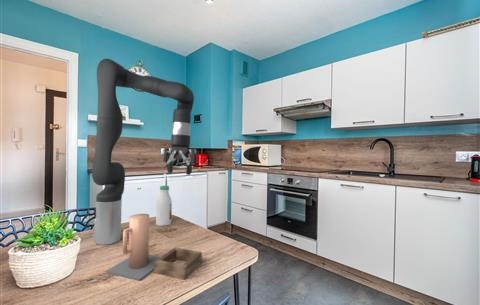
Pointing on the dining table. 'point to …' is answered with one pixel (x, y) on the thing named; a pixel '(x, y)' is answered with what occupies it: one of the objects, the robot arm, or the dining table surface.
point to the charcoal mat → (135, 274)
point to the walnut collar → (178, 270)
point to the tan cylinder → (137, 241)
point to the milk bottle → (164, 207)
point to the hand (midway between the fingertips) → (179, 173)
